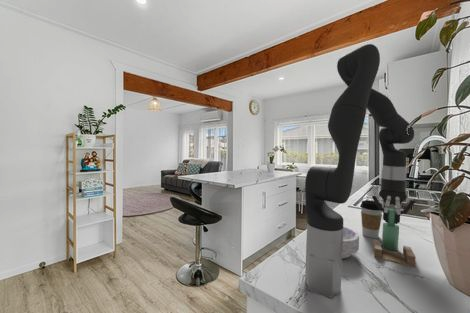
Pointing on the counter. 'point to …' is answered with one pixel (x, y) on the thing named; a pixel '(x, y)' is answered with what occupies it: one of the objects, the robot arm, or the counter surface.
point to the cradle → (394, 254)
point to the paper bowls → (349, 242)
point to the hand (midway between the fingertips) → (391, 222)
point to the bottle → (390, 232)
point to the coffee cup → (370, 219)
